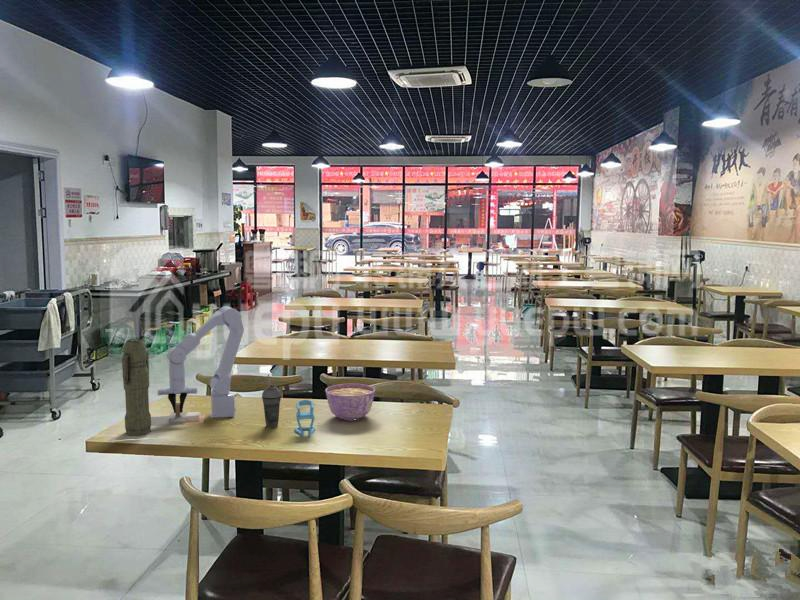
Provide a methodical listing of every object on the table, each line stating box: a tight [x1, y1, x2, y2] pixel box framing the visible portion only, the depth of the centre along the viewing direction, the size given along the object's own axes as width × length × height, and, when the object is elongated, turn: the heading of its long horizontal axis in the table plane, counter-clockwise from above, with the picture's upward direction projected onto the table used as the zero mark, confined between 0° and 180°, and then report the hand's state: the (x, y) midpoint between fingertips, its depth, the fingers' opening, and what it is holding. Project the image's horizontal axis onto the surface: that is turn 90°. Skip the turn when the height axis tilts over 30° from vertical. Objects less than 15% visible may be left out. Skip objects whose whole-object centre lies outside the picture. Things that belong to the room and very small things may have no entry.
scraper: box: [169, 402, 188, 424], centre depth 255 cm, size 6×8×6 cm
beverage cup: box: [261, 374, 282, 429], centre depth 249 cm, size 7×7×20 cm
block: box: [186, 411, 201, 421], centre depth 257 cm, size 5×5×2 cm
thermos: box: [121, 338, 152, 437], centre depth 238 cm, size 9×12×35 cm
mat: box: [151, 413, 206, 427], centre depth 255 cm, size 23×12×1 cm, turn 102°
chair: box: [294, 399, 316, 438], centre depth 242 cm, size 8×8×12 cm
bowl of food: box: [324, 383, 376, 421], centre depth 261 cm, size 20×20×12 cm
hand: (178, 412), depth 255 cm, fingers closed on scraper
